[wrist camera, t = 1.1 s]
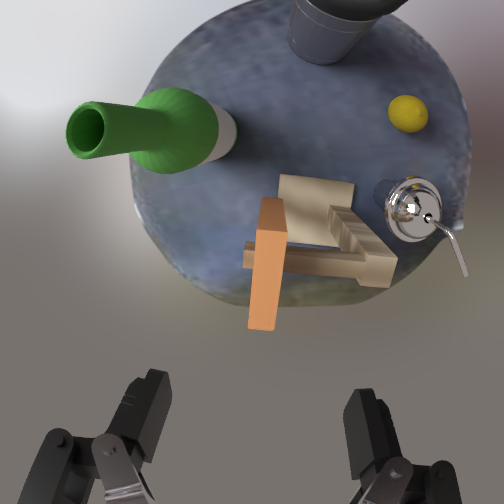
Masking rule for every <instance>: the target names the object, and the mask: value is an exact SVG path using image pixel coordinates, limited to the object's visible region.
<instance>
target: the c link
mask: <svg viewBox="0 0 504 504" xmlns="http://www.w3.org/2000/svg"><path fill="white" fill-rule="evenodd" d="M287 234H288V231H287V224H286V218H285V211H284V205H283V199H280V198H270V197H262V203H261V208H260V214H259V219H258V225H257V232H256V243H255V254H254V266H253V277H252V288H251V299H250V311H249V322H248V328H249V329H259V330H269V331H274V326H275V319H276V313H277V306H278V300H279V293H280V286H281V279H282V272H283V265H284V257H285V250H286V242H287Z"/></svg>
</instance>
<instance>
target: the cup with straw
mask: <svg viewBox="0 0 504 504" xmlns="http://www.w3.org/2000/svg"><path fill="white" fill-rule="evenodd" d="M373 197H374V200H375V202H376V203H377V205H378V206H379V207H380V208H381V209H382V210H383V212H384V213H385V220H386V223H387V226H388V228H389V229H390V231H391V232H392V233H393V235H395V236H396V237H397V238H399V239H401V240H403V241H407V242H418V241H421V240H423V239H425V238H427V237H428V236H430V235H431V234H433V233H434V232H435V231H436V229H437V228H438V229H439V230H441V231H442V232H444V233H445V234H446V235H447V236H448V238H449V239H450V242H451V244H452V246H453V249H454V252H455V254H456V256H457V259H458V262H459V265H460V268H461V270H462V273H463V276H464V277H467V276H468V275H469V273H468V270H467V267H466V264H465V261H464V258H463V256H462V253H461V250H460V248H459V245H458V243H457V240H456V237H455V235H454V234H453V232H452V231H451V230H450V229H449V228H448V227H447V226H445V225H443V224H442V223H440V222H441V218H442V204H441V198H440V195H439V193H438V191H437V189H436V188H435V186H434V185H433V184H432V183H430V182H429V181H428V180H426V179H425V178H422V177H419V176H411V177H406V178H404V179H402V180H401V181H395V180H382V181H380V182H378V183H377V185H376V186H375V188H374V192H373Z"/></svg>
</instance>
